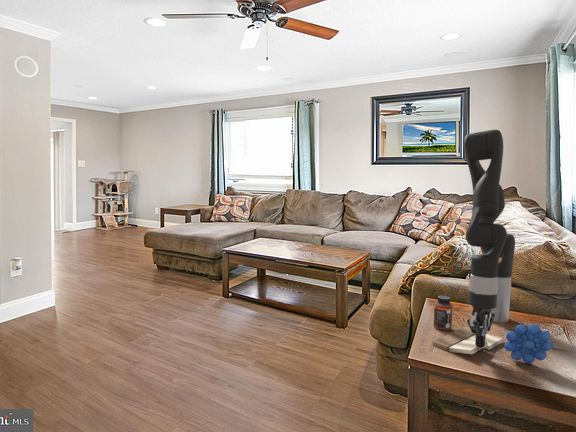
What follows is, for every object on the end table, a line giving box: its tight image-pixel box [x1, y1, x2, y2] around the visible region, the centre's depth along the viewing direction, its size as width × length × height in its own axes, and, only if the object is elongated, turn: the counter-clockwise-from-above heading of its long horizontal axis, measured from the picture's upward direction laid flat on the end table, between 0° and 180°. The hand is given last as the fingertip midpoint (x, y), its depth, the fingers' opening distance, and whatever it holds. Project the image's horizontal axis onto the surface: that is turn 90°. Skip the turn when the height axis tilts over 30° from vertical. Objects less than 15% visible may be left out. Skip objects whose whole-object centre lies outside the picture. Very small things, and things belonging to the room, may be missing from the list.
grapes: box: [503, 323, 554, 365], centre depth 105 cm, size 12×7×12 cm, turn 60°
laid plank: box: [432, 326, 476, 352], centre depth 120 cm, size 21×5×1 cm, turn 127°
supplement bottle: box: [433, 295, 454, 331], centre depth 129 cm, size 6×6×11 cm
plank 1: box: [448, 340, 488, 355], centre depth 112 cm, size 10×7×1 cm
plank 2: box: [467, 332, 504, 351], centre depth 118 cm, size 10×7×1 cm
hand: (479, 346), depth 109 cm, fingers closed
